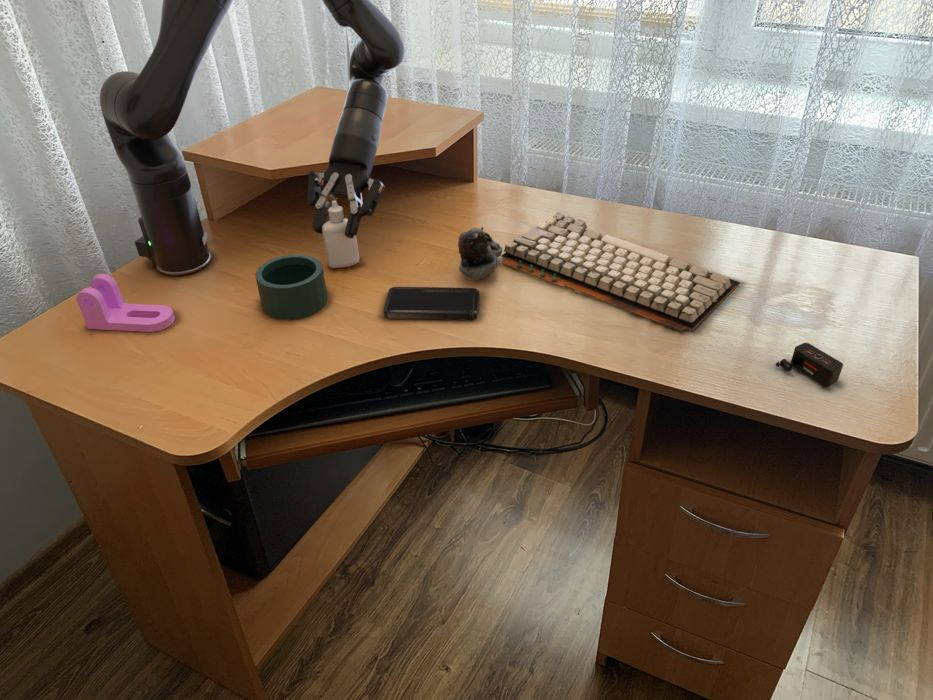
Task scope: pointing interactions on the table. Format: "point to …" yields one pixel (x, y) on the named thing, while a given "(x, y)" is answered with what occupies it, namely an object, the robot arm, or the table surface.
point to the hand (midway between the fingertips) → (333, 234)
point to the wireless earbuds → (814, 364)
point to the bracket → (119, 309)
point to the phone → (432, 303)
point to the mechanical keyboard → (619, 272)
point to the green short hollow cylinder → (291, 286)
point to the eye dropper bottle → (339, 240)
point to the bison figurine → (477, 253)
